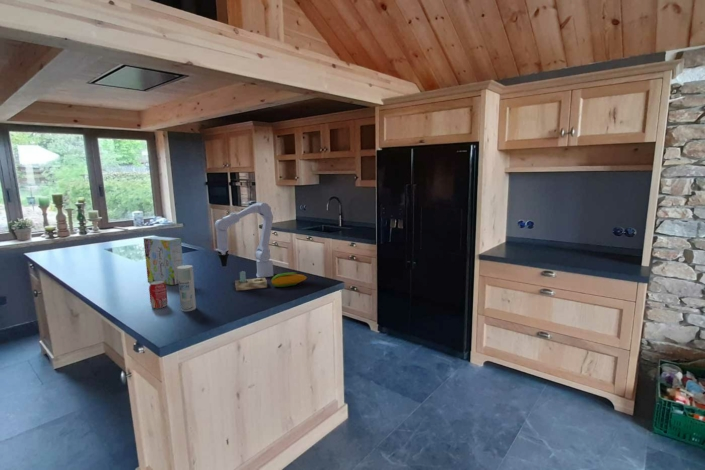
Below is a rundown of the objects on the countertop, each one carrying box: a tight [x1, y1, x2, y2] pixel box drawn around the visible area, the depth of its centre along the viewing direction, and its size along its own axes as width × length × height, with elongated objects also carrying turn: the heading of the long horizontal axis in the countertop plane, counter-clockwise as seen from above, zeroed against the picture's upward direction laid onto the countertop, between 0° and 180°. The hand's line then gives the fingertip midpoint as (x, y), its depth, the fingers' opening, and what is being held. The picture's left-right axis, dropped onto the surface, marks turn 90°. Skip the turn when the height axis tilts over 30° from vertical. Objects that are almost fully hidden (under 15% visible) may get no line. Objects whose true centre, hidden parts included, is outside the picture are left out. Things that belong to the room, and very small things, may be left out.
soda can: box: [148, 280, 168, 310], centre depth 174 cm, size 7×7×12 cm
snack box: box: [143, 236, 184, 286], centre depth 213 cm, size 22×9×26 cm, turn 65°
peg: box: [239, 270, 247, 283], centre depth 201 cm, size 3×3×9 cm
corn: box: [270, 271, 307, 288], centre depth 205 cm, size 7×8×20 cm
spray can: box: [177, 264, 197, 312], centre depth 170 cm, size 6×6×20 cm
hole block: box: [234, 277, 268, 291], centre depth 203 cm, size 16×8×4 cm, turn 110°
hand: (224, 264), depth 211 cm, fingers open, 7 cm apart
